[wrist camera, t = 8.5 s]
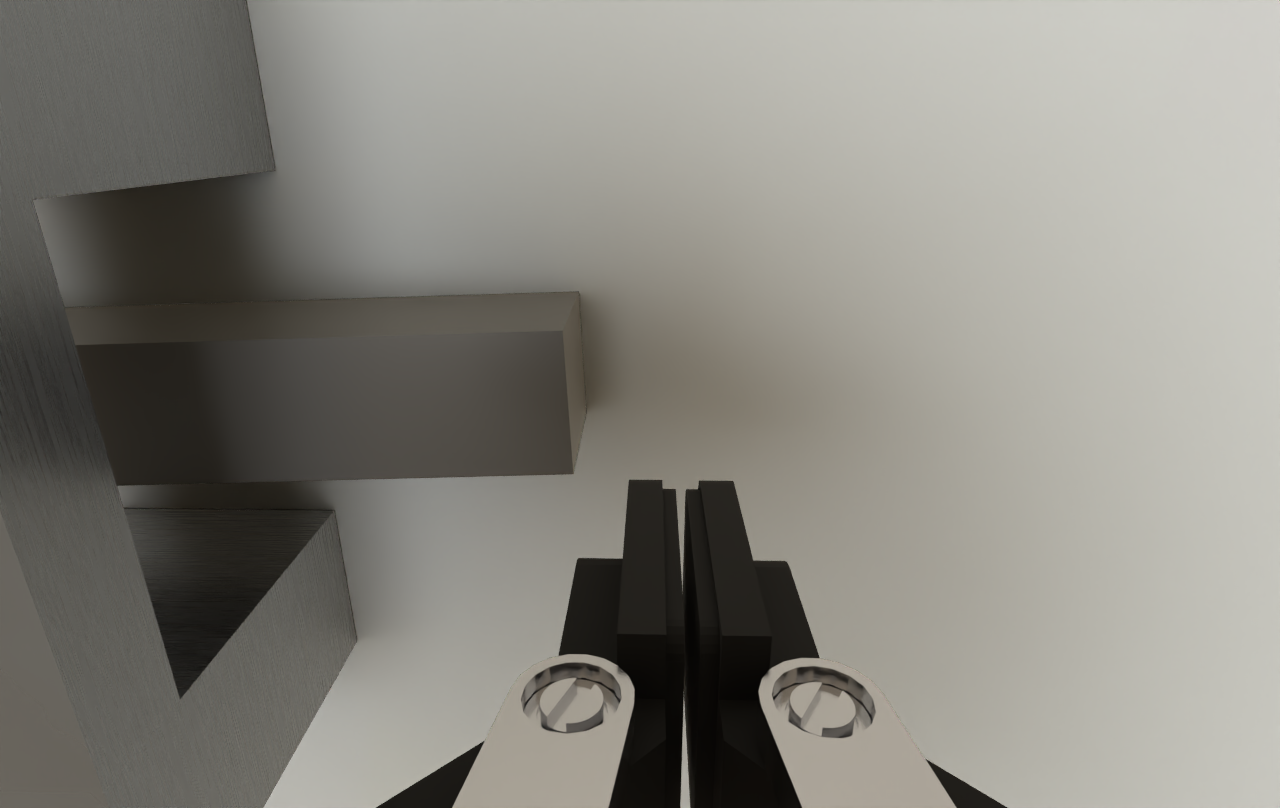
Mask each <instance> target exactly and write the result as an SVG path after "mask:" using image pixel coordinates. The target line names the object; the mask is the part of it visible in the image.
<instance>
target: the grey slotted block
mask: <svg viewBox="0 0 1280 808" xmlns="http://www.w3.org/2000/svg"><path fill="white" fill-rule="evenodd" d="M266 171H275V166H274V160H273V154H272V149H271V143H270V137H269V131H268V126H267V120H266V114H265V108H264V103H263V97H262V91H261V85H260V79H259V74H258V68H257V62H256V56H255V51H254V45H253V39H252V33H251V27H250V22H249V16H248V10H247V4H246V0H0V808H263V807H264V805H265V804H266V802H267V800H268V798H269V796H270V795H271V793H272V791H273V789H274V788H275V786H276V784H277V782H278V781H279V779H280V777H281V775H282V773H283V772H284V770H285V768H286V766H287V765H288V763H289V761H290V759H291V757H292V756H293V754H294V752H295V750H296V749H297V747H298V745H299V743H300V742H301V740H302V738H303V736H304V734H305V733H306V731H307V729H308V727H309V726H310V724H311V722H312V720H313V719H314V717H315V715H316V713H317V711H318V710H319V708H320V706H321V704H322V703H323V701H324V699H325V697H326V695H327V694H328V692H329V690H330V688H331V687H332V685H333V683H334V681H335V680H336V678H337V676H338V674H339V672H340V671H341V669H342V667H343V665H344V664H345V662H346V660H347V658H348V656H349V655H350V653H351V651H352V649H353V648H354V646H355V644H356V642H357V639H356V634H355V628H354V622H353V616H352V610H351V605H350V599H349V593H348V587H347V582H346V576H345V570H344V564H343V559H342V553H341V547H340V541H339V535H338V530H337V524H336V518H335V512H334V511H329V510H223V509H124V508H123V504H122V501H121V498H120V494H119V491H118V488H117V484H116V481H115V477H114V474H113V471H112V467H111V464H110V460H109V457H108V454H107V450H106V447H105V444H104V440H103V437H102V433H101V430H100V427H99V423H98V420H97V416H96V413H95V410H94V406H93V403H92V400H91V396H90V393H89V389H88V386H87V383H86V379H85V376H84V373H83V369H82V366H81V362H80V359H79V356H78V352H77V349H76V345H75V342H74V339H73V335H72V332H71V329H70V325H69V322H68V318H67V315H66V312H65V308H64V305H63V301H62V298H61V295H60V291H59V288H58V285H57V281H56V278H55V274H54V271H53V268H52V264H51V261H50V257H49V254H48V251H47V247H46V244H45V241H44V237H43V234H42V230H41V227H40V224H39V220H38V217H37V214H36V210H35V207H34V203H33V200H36V199H44V198H52V197H60V196H69V195H77V194H85V193H93V192H102V191H110V190H118V189H126V188H135V187H143V186H151V185H159V184H167V183H176V182H184V181H192V180H200V179H209V178H217V177H225V176H233V175H242V174H250V173H258V172H266Z"/></svg>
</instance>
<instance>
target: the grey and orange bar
mask: <svg viewBox="0 0 1280 808" xmlns="http://www.w3.org/2000/svg"><path fill="white" fill-rule="evenodd" d="M64 308H65V312H66V315H67V318H68V322H69V325H70V329H71V332H72V335H73V339H74V342H75V345H76V349H77V352H78V356H79V359H80V362H81V366H82V369H83V373H84V376H85V379H86V383H87V386H88V389H89V393H90V396H91V400H92V403H93V406H94V410H95V413H96V416H97V420H98V423H99V427H100V430H101V433H102V437H103V440H104V444H105V447H106V450H107V454H108V457H109V460H110V464H111V467H112V471H113V474H114V477H115V481H116V484H117V486H119V485H159V484H199V483H239V482H278V481H318V480H358V479H397V478H437V477H477V476H517V475H556V474H574V469H575V464H576V460H577V455H578V450H579V446H580V441H581V436H582V432H583V427H584V422H585V418H586V413H587V409H586V394H585V378H584V363H583V348H582V333H581V317H580V302H579V291H578V292H546V293H514V294H481V295H449V296H417V297H384V298H352V299H320V300H287V301H255V302H223V303H190V304H158V305H126V306H93V307H64Z"/></svg>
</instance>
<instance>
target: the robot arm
mask: <svg viewBox="0 0 1280 808" xmlns="http://www.w3.org/2000/svg"><path fill="white" fill-rule="evenodd" d="M683 698H684V701H685V719H686V737H687V754H688V772H689V790H690V807H691V808H1007V807H1005V806H1004V805H1002V804H1000V803H999V802H997V801H995V800H994V799H992V798H990V797H989V796H987V795H985V794H983V793H982V792H980V791H978V790H977V789H975V788H973V787H972V786H970V785H968V784H967V783H965V782H963V781H962V780H960V779H958V778H957V777H955V776H953V775H952V774H950V773H948V772H946V771H945V770H943V769H941V768H940V767H938V766H936V765H935V764H933V763H931V762H930V761H928V760H926V759H925V758H924V756H923V755H922V753H921V752H920V750H919V748H918V747H917V745H916V744H915V742H914V741H913V739H912V738H911V736H910V734H909V733H908V731H907V730H906V728H905V727H904V725H903V724H902V722H901V720H900V719H899V717H898V716H897V714H896V713H895V711H894V710H893V708H892V706H891V705H890V703H889V702H888V700H887V699H886V697H885V695H884V694H883V693H882V692H881V691H880V689H879V688H878V687H877V686H876V685H875V684H874V683H873V681H871V680H870V679H869V678H867V677H866V676H864V675H863V674H861V673H860V672H859V671H857V670H855V669H853V668H850V667H848V666H846V665H843V664H841V663H839V662H834V661H830V660H825V659H821V658H819V655H818V652H817V649H816V646H815V643H814V640H813V637H812V634H811V631H810V628H809V625H808V622H807V619H806V616H805V613H804V610H803V607H802V604H801V601H800V598H799V595H798V592H797V589H796V586H795V583H794V580H793V577H792V574H791V571H790V568H789V565H788V563H787V562H785V561H753V558H752V554H751V550H750V546H749V542H748V538H747V534H746V530H745V526H744V522H743V518H742V514H741V510H740V506H739V502H738V498H737V494H736V490H735V486H734V482H733V481H699V486H698V490H695V489H686V496H685V530H684V565H683V594H682V579H681V564H680V549H679V534H678V519H677V503H676V489H663V488H662V480H629V486H628V499H627V512H626V524H625V537H624V550H623V559H601V558H579V559H578V560H577V563H576V568H575V573H574V579H573V584H572V589H571V594H570V599H569V605H568V610H567V615H566V620H565V625H564V631H563V636H562V641H561V646H560V651H559V656H556V657H551V658H548V659H546V660H544V661H541V662H539V663H537V664H534V665H533V666H531V667H530V668H529V669H527V670H526V671H525V672H523V673H522V674H521V675H520V676H519V677H518V678H517V680H516V681H515V683H514V684H513V685H512V687H511V688H510V690H509V692H508V694H507V696H506V698H505V701H504V703H503V705H502V707H501V709H500V711H499V713H498V715H497V717H496V719H495V721H494V723H493V725H492V727H491V729H490V731H489V733H488V735H487V737H486V739H485V741H483V742H482V743H480V744H479V745H477V746H475V747H474V748H472V749H470V750H469V751H467V752H466V753H464V754H462V755H461V756H459V757H457V758H456V759H454V760H453V761H451V762H449V763H448V764H446V765H444V766H443V767H441V768H440V769H438V770H436V771H435V772H433V773H431V774H430V775H428V776H427V777H425V778H423V779H422V780H420V781H418V782H417V783H415V784H414V785H412V786H410V787H409V788H407V789H405V790H404V791H402V792H401V793H399V794H397V795H396V796H394V797H392V798H391V799H389V800H388V801H386V802H384V803H383V804H381V805H379V806H378V807H376V808H680V796H681V764H682V731H683Z"/></svg>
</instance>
